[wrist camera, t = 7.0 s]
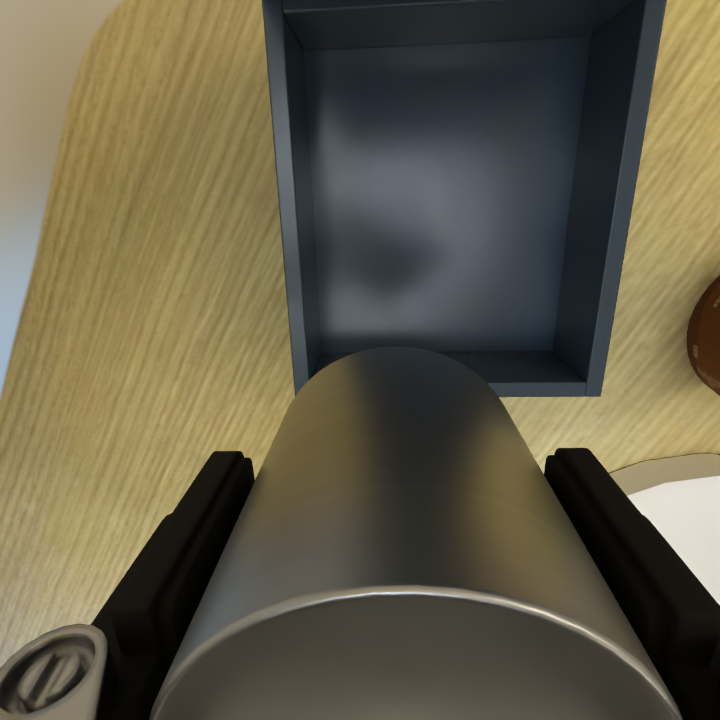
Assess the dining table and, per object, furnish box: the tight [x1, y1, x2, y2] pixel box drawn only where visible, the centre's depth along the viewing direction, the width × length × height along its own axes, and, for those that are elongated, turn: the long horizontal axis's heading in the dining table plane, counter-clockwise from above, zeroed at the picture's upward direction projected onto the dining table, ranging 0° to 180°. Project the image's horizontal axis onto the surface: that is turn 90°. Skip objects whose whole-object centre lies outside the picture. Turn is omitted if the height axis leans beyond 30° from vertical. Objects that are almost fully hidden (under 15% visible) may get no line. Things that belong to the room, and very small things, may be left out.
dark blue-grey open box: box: [262, 0, 667, 397], centre depth 23 cm, size 18×16×6 cm
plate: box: [609, 453, 720, 605], centre depth 33 cm, size 28×28×2 cm
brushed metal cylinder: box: [149, 346, 683, 720], centre depth 8 cm, size 6×6×7 cm
